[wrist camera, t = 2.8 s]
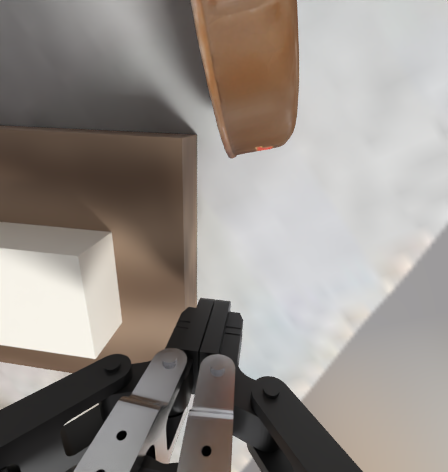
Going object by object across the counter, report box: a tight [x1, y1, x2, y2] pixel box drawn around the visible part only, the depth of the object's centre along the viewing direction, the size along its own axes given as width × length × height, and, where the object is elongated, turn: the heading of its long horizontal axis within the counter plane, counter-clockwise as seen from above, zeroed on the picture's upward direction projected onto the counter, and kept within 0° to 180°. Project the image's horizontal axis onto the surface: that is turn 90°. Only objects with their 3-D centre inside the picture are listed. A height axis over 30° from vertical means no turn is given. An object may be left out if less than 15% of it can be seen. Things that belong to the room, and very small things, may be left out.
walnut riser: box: [0, 125, 197, 373], centre depth 19 cm, size 16×18×3 cm
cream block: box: [0, 222, 122, 359], centre depth 16 cm, size 6×10×3 cm, turn 88°
